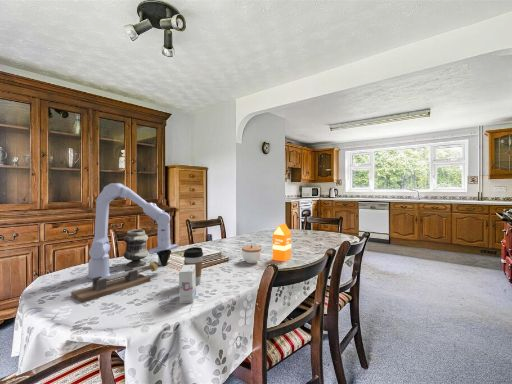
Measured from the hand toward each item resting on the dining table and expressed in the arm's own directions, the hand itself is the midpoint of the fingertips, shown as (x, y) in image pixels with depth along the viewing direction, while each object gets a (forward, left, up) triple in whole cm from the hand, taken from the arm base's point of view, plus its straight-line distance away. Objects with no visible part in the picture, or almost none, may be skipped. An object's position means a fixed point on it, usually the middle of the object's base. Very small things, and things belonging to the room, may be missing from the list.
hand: (163, 265), depth 130 cm
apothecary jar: (-23, -1, -4) cm, 23 cm away
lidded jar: (+22, +41, -4) cm, 46 cm away
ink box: (+32, -11, -4) cm, 34 cm away
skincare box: (-12, +9, -4) cm, 15 cm away
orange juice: (+32, +57, -4) cm, 65 cm away
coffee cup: (+22, 0, -4) cm, 22 cm away
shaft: (0, -17, -1) cm, 17 cm away
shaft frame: (0, -24, -3) cm, 24 cm away
